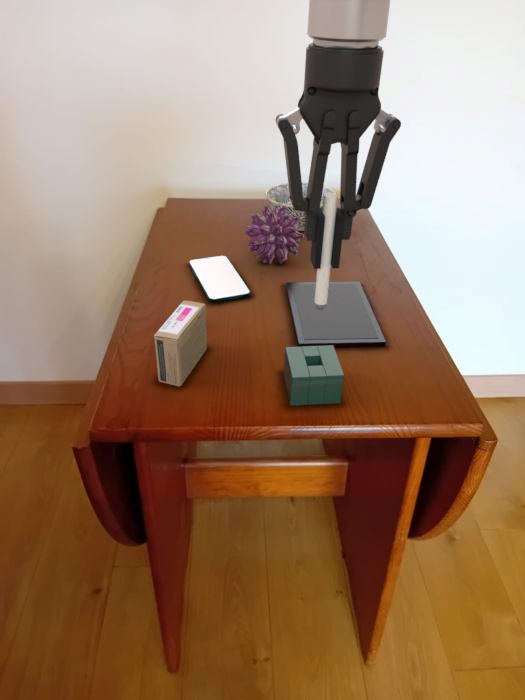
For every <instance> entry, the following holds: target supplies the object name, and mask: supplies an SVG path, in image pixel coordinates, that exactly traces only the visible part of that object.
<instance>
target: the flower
mask: <svg viewBox="0 0 525 700" xmlns="http://www.w3.org/2000/svg"><path fill="white" fill-rule="evenodd" d="M263 207H264V209H262V210H261V211H262V212H261V213H262V215H261V214H259V213H258V212H256V213H255V214H254V213H251V214H250V218H251V219H252V221H251V224H252V225H247V226H246V229H247V230H244V235H245V236H249V237H250V240H248V242H246V243H245V244H246V247H250V246H251V247H250V248H249V252H250V253H252V252H256V255H255V257H256V259H259V257H261V256H262V262H263V263H265V264H266V263H268V264H272V262H273V260H274V259H277V261H278V263H279V264H283V262H285V261H288V256H289V257H290V256H291V254H293V255H294V256H298V253H299V251H298V250H297V248H298V247H299V244H300V242H301V239H304V238H305V233H300V232H299V231H298V228H300V227H302V225H301V224H296V223H297V221H298V220H299V219H300V218H299V217H296V218H293V219H291V217H292V214H293V212H292V211H291V212H290V213H287V214H286V206H283V207H282V209H280V210H279V205H276V208H275V209H274V210H272V209H271V207H269V205H268V204H264V206H263Z"/></svg>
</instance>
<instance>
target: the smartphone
mask: <svg viewBox="0 0 525 700" xmlns="http://www.w3.org/2000/svg"><path fill="white" fill-rule="evenodd" d="M188 265H189V268H190V270H191V271H192V273H193V275H194V277H195V279H196V281H197V282H198V284H199V286H200V288H201V290H202V291H203V293H204V295H205V297H206V299H207V301H208V302H209V303H212V304H216V303H217V304H218V303H223V302H229V301H234V300H239V299H245V298H249V297H250V296H251V290H250V288H249V287H248V285H247V284H246V283H245V281H244V280H243V278H242V277H241V276H240V274H239V272H238V271H237V269H236V268H235V267H234V265H233V264H232V262H231V261H230V259H229V258H228V257H227V255H215V256H209V257H202V258H201V257H199V258H194V259H190V260H189V261H188Z"/></svg>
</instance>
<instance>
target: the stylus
mask: <svg viewBox="0 0 525 700" xmlns="http://www.w3.org/2000/svg"><path fill="white" fill-rule="evenodd" d="M335 193H336V192H335ZM335 193H325V194H324V197H323V209H322V213H323V214H324V216H325V224H324V235H323V246H322V257H321V268H320V269H316V281H315V282H316V289H315V301H314V302H315V303H316V308H317V309H319V310H322V309H324V307H325V304H326V303H327V297H328V288H329V282H330V278H331V277H330V276H331V268H332V266H331V258H332V249H333V239H334V229H335V219H336V210H337V208H338V198H339V194H337V193H336V194H335Z"/></svg>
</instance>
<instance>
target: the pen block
mask: <svg viewBox="0 0 525 700" xmlns="http://www.w3.org/2000/svg"><path fill="white" fill-rule="evenodd" d="M283 364H284V365H283V377H284V378H283V379H284V382H285V386H286V390H287V396H288V401H289V405H290V406H291V407H292V406H293V407H294V406H307V405H308V406H309V405H312V406H313V405H328V404H331V405H332V404H341V400H342V392H343V385H344V377H345V374H344V371H343V368H342V366H341V362H340V360H339V357H338V355H337V352H336V348H334V346H333V345H327V346H302V347H298V346H285V348H284V363H283Z"/></svg>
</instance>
